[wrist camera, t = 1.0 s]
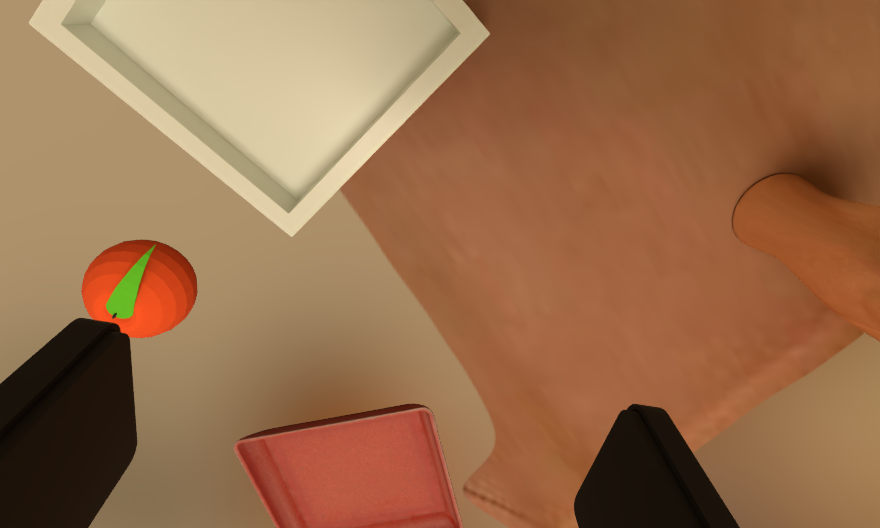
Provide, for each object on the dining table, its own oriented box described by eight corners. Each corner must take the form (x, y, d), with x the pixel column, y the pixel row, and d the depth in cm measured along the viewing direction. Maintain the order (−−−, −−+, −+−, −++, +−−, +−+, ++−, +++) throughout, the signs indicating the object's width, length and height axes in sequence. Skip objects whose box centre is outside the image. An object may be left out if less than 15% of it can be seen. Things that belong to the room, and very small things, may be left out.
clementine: (136, 196, 34) (73, 235, 28) (230, 240, 36) (191, 286, 30) (106, 281, 37) (43, 333, 31) (195, 318, 39) (152, 375, 33)
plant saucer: (240, 417, 45) (228, 445, 42) (430, 382, 44) (431, 408, 41) (302, 536, 53) (296, 567, 50) (463, 508, 52) (466, 538, 49)
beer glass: (727, 261, 39) (890, 385, 26) (724, 183, 36) (908, 277, 23) (814, 237, 38) (1028, 351, 25) (819, 155, 35) (1066, 235, 22)
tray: (248, -252, 24) (223, -293, 21) (482, 32, 31) (490, 34, 27) (69, 23, 29) (28, 23, 26) (302, 218, 36) (291, 237, 32)
